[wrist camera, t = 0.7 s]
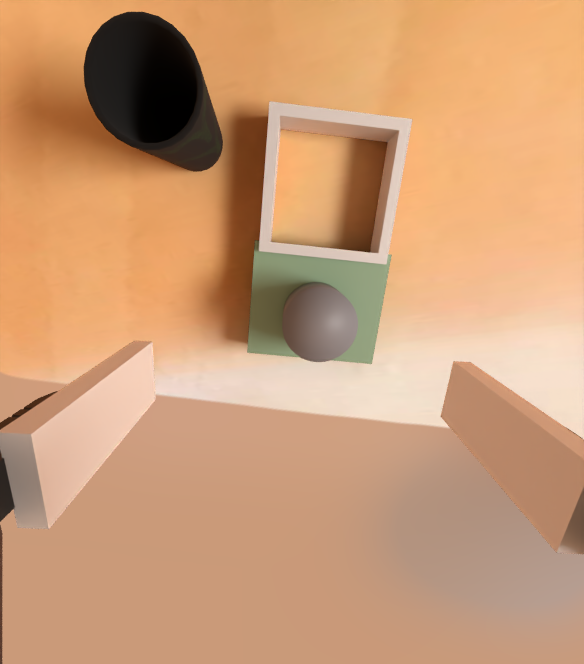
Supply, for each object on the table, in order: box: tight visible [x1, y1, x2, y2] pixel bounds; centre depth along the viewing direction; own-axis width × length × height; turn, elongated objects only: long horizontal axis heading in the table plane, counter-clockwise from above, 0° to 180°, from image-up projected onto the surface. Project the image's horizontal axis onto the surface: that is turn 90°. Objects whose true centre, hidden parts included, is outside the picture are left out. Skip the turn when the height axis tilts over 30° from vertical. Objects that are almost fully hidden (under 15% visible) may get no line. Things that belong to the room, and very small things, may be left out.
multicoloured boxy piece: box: [247, 101, 412, 364], centre depth 31 cm, size 24×14×8 cm, turn 174°
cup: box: [84, 12, 223, 171], centre depth 26 cm, size 8×8×12 cm
